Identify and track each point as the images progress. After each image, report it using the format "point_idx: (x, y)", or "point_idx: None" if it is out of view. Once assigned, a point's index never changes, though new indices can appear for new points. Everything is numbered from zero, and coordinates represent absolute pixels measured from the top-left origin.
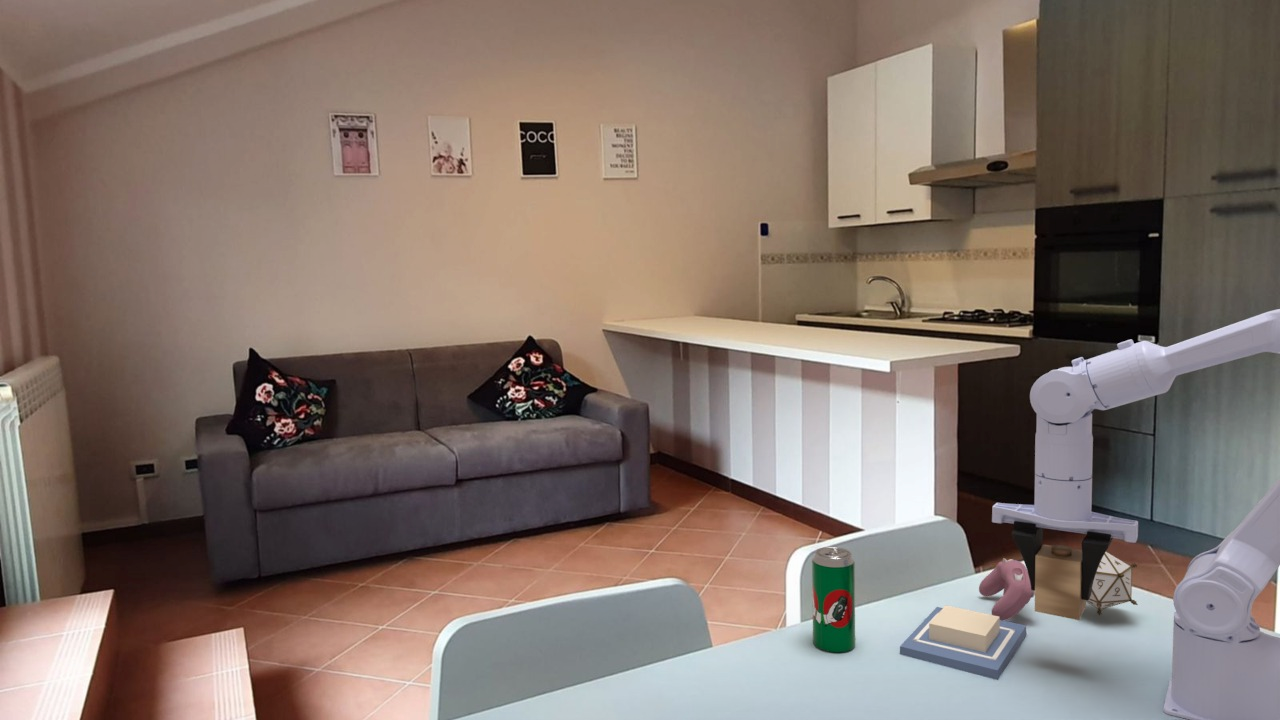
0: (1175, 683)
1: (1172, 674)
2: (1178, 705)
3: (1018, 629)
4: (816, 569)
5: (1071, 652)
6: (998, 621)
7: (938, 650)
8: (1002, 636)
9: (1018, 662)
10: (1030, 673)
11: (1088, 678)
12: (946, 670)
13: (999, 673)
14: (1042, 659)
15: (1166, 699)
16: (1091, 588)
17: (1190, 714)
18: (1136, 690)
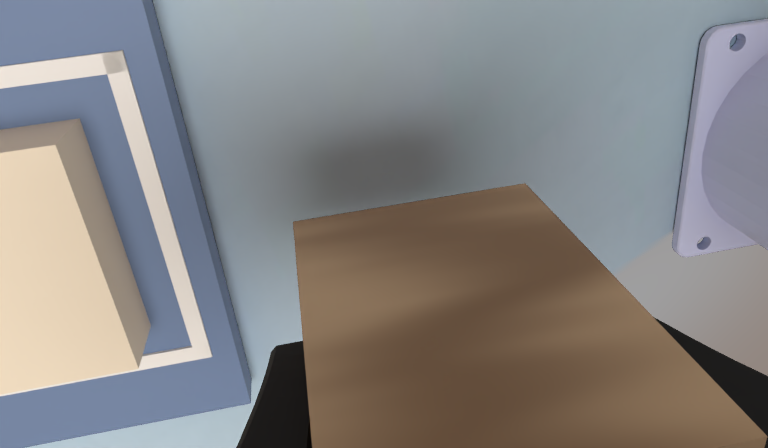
0: (748, 224)
1: (756, 210)
2: (715, 212)
3: (124, 24)
4: None
5: (365, 5)
6: (70, 165)
7: (19, 414)
8: (115, 153)
9: (242, 227)
10: None
11: (469, 186)
12: None
13: (245, 367)
14: (298, 148)
15: (687, 196)
16: None
17: (737, 239)
18: (605, 168)
